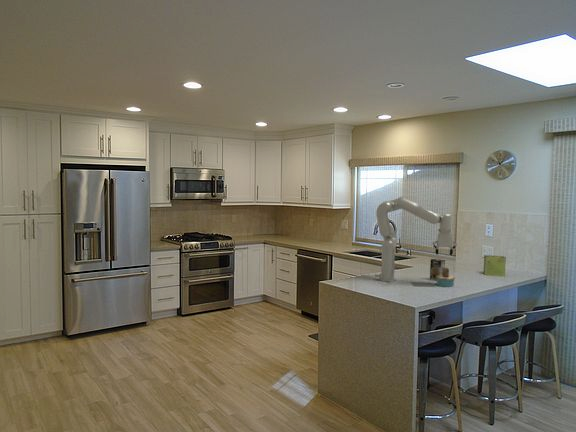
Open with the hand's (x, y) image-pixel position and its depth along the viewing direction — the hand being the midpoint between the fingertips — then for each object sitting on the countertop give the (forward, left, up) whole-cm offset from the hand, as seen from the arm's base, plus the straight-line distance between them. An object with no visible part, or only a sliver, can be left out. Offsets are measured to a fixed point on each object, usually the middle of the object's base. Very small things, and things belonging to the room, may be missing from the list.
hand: (443, 254), depth 314 cm
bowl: (+1, -1, -23) cm, 22 cm away
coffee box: (0, +18, -23) cm, 29 cm away
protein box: (+54, +50, -23) cm, 77 cm away
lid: (+1, -1, -16) cm, 17 cm away
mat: (-15, -1, -22) cm, 27 cm away
